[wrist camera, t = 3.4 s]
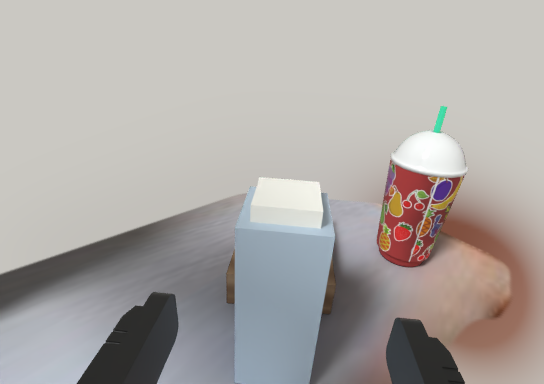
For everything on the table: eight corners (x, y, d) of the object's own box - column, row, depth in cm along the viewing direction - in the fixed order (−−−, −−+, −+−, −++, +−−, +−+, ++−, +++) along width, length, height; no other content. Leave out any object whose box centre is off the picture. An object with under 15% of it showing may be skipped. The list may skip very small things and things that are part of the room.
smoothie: (445, 276, 38) (508, 116, 29) (380, 273, 38) (424, 112, 29) (416, 238, 46) (459, 102, 37) (361, 236, 45) (392, 98, 37)
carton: (307, 391, 24) (338, 219, 17) (234, 382, 25) (234, 210, 18) (306, 329, 30) (329, 178, 23) (246, 322, 30) (250, 172, 23)
